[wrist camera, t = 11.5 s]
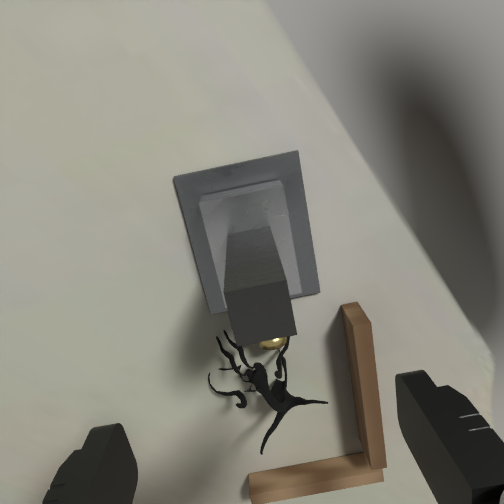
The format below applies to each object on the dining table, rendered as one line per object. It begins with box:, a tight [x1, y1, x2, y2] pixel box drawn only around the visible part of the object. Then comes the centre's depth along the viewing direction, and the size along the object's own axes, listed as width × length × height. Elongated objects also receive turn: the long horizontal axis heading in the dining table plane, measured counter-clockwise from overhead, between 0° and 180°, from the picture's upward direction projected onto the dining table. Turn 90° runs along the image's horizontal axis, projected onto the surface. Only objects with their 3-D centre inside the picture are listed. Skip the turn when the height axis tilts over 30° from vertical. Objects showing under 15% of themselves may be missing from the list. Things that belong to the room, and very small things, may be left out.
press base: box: [174, 150, 320, 314], centre depth 26 cm, size 8×10×1 cm
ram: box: [199, 180, 302, 350], centre depth 21 cm, size 5×11×10 cm, turn 12°
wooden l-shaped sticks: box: [249, 302, 387, 504], centre depth 29 cm, size 11×16×3 cm
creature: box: [208, 330, 328, 454], centre depth 27 cm, size 8×5×8 cm
